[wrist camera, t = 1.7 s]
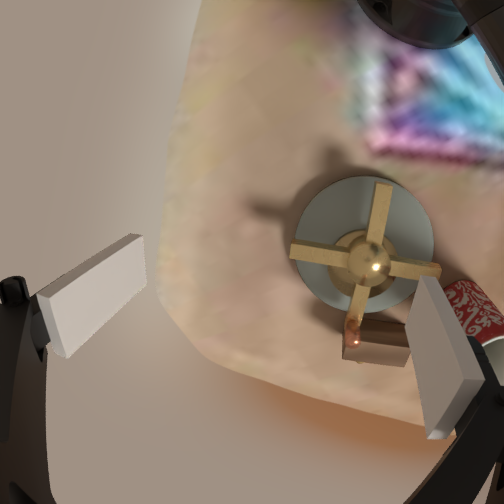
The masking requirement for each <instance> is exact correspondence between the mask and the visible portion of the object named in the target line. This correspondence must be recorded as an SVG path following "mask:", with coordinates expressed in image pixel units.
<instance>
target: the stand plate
mask: <svg viewBox="0 0 504 504" xmlns="http://www.w3.org/2000/svg"><path fill="white" fill-rule="evenodd" d="M374 181H379V182H384V183H389V184H391V185H392V186H393V190H392V195H391V201H390V206H389V211H388V216H387V221H386V226H385V231H384V235H385V236H386V237H387V238H388V239H389V240H390V241H391V242H392V243H393V245H394V247H395V249H396V252H397V254H398V256H400V257H405V258H411V259H416V260H422V261H427V262H431V261H432V256H433V249H434V238H433V231H432V226H431V223H430V220H429V218H428V216H427V214H426V212H425V210H424V209H423V207H422V206H421V204H420V203H419V202H418V201H417V199H416V198H415V197H414V196H413V195H412V194H411V193H409V192H408V191H407V190H406V189H404V188H403V187H401V186H400V185H398V184H396V183H395V182H392V181H390V180H387V179H384V178H380V177H376V176H354V177H348V178H345V179H342V180H339V181H337V182H335V183H332V184H331V185H329V186H327V187H326V188H324V189H323V190H322V191H320V192H319V193H318V194H317V195H316V196H315V197H314V198H313V199H312V200H311V201H310V203H309V204H308V206H307V207H306V208H305V210H304V212H303V214H302V216H301V218H300V221H299V224H298V227H297V229H296V234H295V239H301V240H307V241H313V242H319V243H325V244H331V245H333V244H334V243H335V242H336V241H337V240H338V239H339V238H340V237H341V236H342V235H344V234H345V233H347V232H349V231H352V230H355V229H363V228H366V226H367V221H368V216H369V211H370V205H371V199H372V194H373V188H374ZM295 260H296V259H295ZM296 265H297V268H298V271H299V273H300V275H301V277H302V279H303V281H304V282H305V284H306V285H307V287H308V288H309V289H310V290H311V291H312V292H313V294H315V295H316V296H317V297H318V298H319V299H320V300H322V301H323V302H325V303H327V304H328V305H330V306H332V307H334V308H337V309H340V310H343V311H347V310H348V306H349V302H350V298H351V297H349V296H346V295H344V294H343V293H341V292H340V291H339V290H338V289H336V287H335V286H334V285H333V283H332V282H331V280H330V278H329V274H328V265H325V264H319V263H313V262H307V261H302V260H296ZM418 282H419V280H414V279H408V278H402V277H396V278H395V280H394V282H393V283H392V285H391V286H390V287H389V288H388V289H387V290H386V291H384V292H383V293H381V294H380V295H378V296H375V297H372V298H368V300H367V304H366V307H365V311H364V313H371V312H377V311H381V310H385V309H388V308H390V307H393V306H395V305H396V304H398V303H400V302H402V301H403V300H404V299H406V298H407V297H408V296H410V295H411V294H412V293H413V292H414V291H415V290H416V289H417V286H418Z"/></svg>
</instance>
